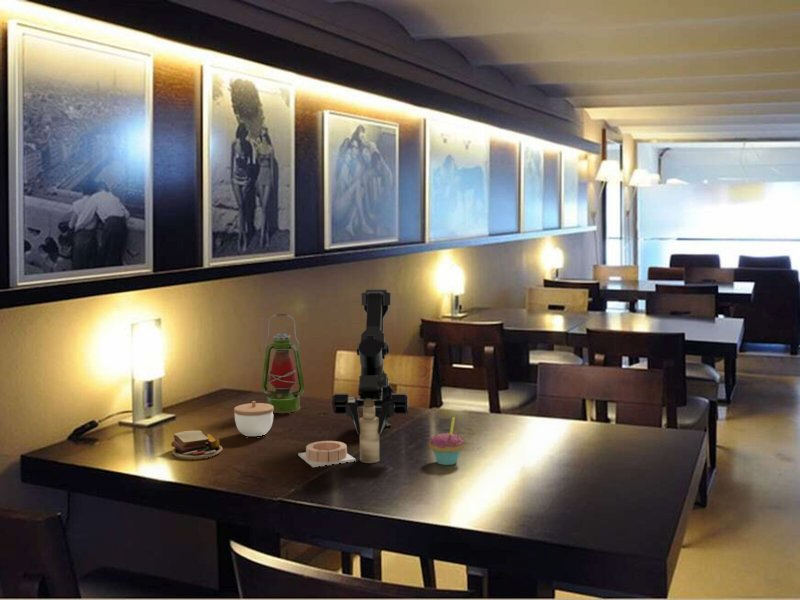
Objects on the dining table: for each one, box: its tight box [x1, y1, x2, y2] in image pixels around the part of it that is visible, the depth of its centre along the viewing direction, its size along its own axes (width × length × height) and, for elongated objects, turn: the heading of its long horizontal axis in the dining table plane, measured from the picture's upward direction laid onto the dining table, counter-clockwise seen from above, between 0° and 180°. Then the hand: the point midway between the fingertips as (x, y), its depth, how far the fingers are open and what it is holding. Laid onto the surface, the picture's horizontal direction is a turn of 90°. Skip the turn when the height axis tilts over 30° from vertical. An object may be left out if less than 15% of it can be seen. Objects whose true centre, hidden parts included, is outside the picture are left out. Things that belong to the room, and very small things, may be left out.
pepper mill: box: [359, 398, 380, 464], centre depth 205 cm, size 5×5×16 cm
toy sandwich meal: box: [170, 430, 223, 460], centre depth 213 cm, size 12×14×5 cm
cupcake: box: [428, 414, 466, 466], centre depth 203 cm, size 9×8×12 cm
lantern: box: [261, 313, 305, 412], centre depth 258 cm, size 14×11×30 cm
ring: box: [297, 440, 357, 468], centre depth 207 cm, size 11×11×3 cm
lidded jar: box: [233, 400, 274, 436], centre depth 230 cm, size 11×11×9 cm
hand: (368, 433), depth 204 cm, fingers closed on pepper mill, 5 cm apart
